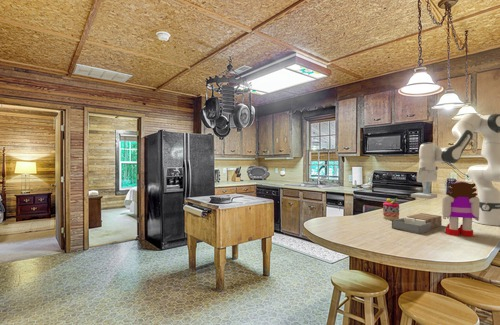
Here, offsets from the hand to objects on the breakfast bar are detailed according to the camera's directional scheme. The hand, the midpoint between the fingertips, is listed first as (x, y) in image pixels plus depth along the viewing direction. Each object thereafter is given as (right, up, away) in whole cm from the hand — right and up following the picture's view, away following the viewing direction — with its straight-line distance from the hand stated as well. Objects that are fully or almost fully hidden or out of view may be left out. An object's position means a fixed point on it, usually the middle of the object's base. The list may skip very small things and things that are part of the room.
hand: (426, 188), depth 178 cm
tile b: (-13, -20, -5) cm, 25 cm away
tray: (-17, -23, -11) cm, 31 cm away
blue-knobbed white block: (-3, -5, -2) cm, 6 cm away
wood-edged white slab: (-3, -23, -2) cm, 23 cm away
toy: (+4, -24, -22) cm, 33 cm away
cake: (-13, -23, +19) cm, 33 cm away
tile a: (-10, -20, -11) cm, 25 cm away
